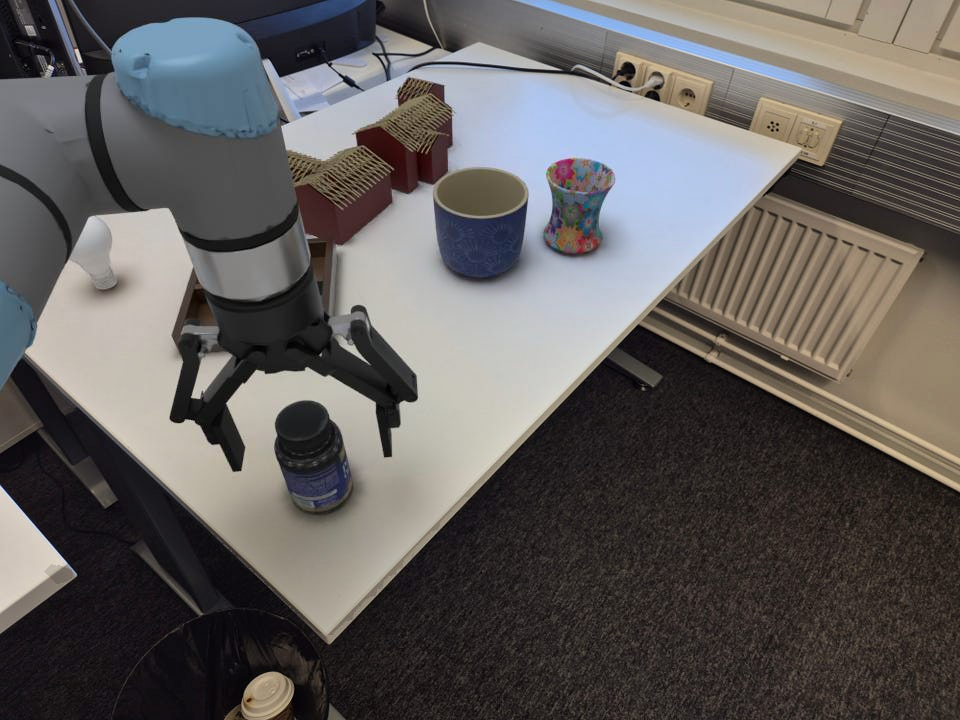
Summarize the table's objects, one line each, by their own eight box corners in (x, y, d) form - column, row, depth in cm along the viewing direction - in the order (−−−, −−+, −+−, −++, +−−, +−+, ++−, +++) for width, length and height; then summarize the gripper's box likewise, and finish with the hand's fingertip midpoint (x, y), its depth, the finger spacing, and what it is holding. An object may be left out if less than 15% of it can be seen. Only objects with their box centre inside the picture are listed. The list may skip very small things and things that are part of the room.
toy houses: (357, 251, 92) (347, 188, 84) (247, 211, 98) (229, 150, 91) (501, 125, 119) (503, 69, 112) (408, 100, 126) (404, 47, 119)
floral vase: (575, 267, 90) (585, 201, 82) (527, 239, 94) (532, 173, 87) (627, 233, 95) (641, 168, 88) (579, 208, 100) (588, 144, 92)
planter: (506, 227, 96) (509, 160, 88) (537, 276, 88) (543, 207, 80) (426, 242, 93) (421, 174, 86) (450, 294, 85) (448, 225, 77)
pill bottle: (364, 497, 64) (349, 427, 56) (306, 528, 61) (282, 460, 53) (337, 454, 67) (319, 383, 59) (281, 482, 65) (255, 412, 57)
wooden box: (179, 354, 77) (171, 335, 75) (206, 263, 89) (199, 244, 87) (331, 343, 79) (327, 324, 76) (337, 255, 91) (334, 236, 89)
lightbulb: (73, 288, 85) (32, 217, 77) (118, 266, 89) (84, 196, 81) (97, 309, 83) (57, 237, 75) (143, 285, 86) (109, 214, 78)
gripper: (433, 227, 48) (445, 409, 63) (85, 250, 46) (184, 432, 61) (441, 291, 43) (451, 473, 58) (49, 321, 41) (166, 500, 56)
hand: (314, 452), depth 60 cm, fingers open, 13 cm apart
